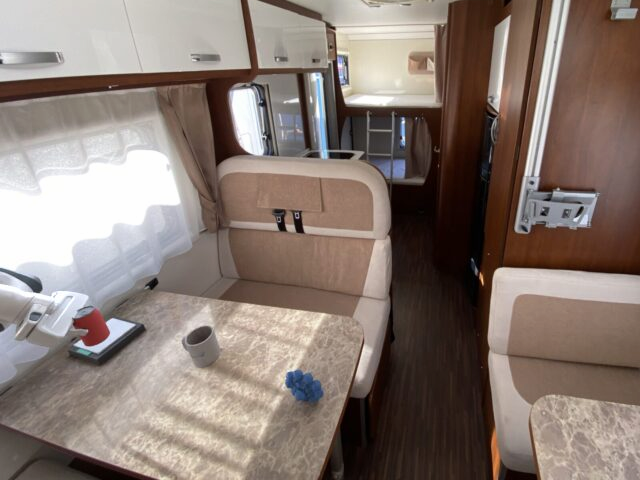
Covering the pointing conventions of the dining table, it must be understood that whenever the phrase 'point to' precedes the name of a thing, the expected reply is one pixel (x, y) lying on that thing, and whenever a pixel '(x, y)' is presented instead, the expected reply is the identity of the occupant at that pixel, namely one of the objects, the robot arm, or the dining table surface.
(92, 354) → the scale
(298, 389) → the grapes
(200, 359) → the mug
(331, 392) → the dining table surface
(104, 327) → the beer can
